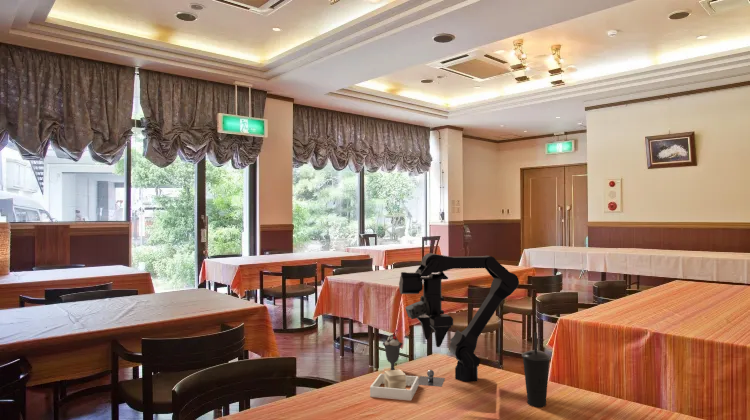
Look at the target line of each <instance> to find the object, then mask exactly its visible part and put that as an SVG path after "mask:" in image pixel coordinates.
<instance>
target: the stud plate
mask: <svg viewBox="0 0 750 420" xmlns="http://www.w3.org/2000/svg"><path fill="white" fill-rule="evenodd" d="M426 375H427V376H424V375H420V376H418V383H419V386H429V387H430V386H431V387H440V388H441V387H443V384H444V382H445V379H446V378H445V377H440V376H439V377H438V376H437V377H436V376H435V372H434V370H432V369H429V370H427V372H426ZM434 376H435V377H434Z"/></svg>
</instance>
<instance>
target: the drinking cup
mask: <svg viewBox="0 0 750 420" xmlns="http://www.w3.org/2000/svg"><path fill="white" fill-rule="evenodd" d="M533 334H534V349H533V350H532V349H531V350H527V351H525V352H522V353H521V358H522V360H523V371H524V380H525V389H526V390H525V391H526V401H527V404H528V405H529V406H531V407H533V406H534V407H533V408H544V407H546V406H545V405H547V395H548V384H549V383H548V381H549V380H548V379H549V371H550V370H549V367H550V366H549V365H550V360H551V355H550V354H549V353H546V352H545V351H542V350H540V349H539V350H538V333H537V332H536V331H535V332H533ZM543 406H544V407H543Z"/></svg>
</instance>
